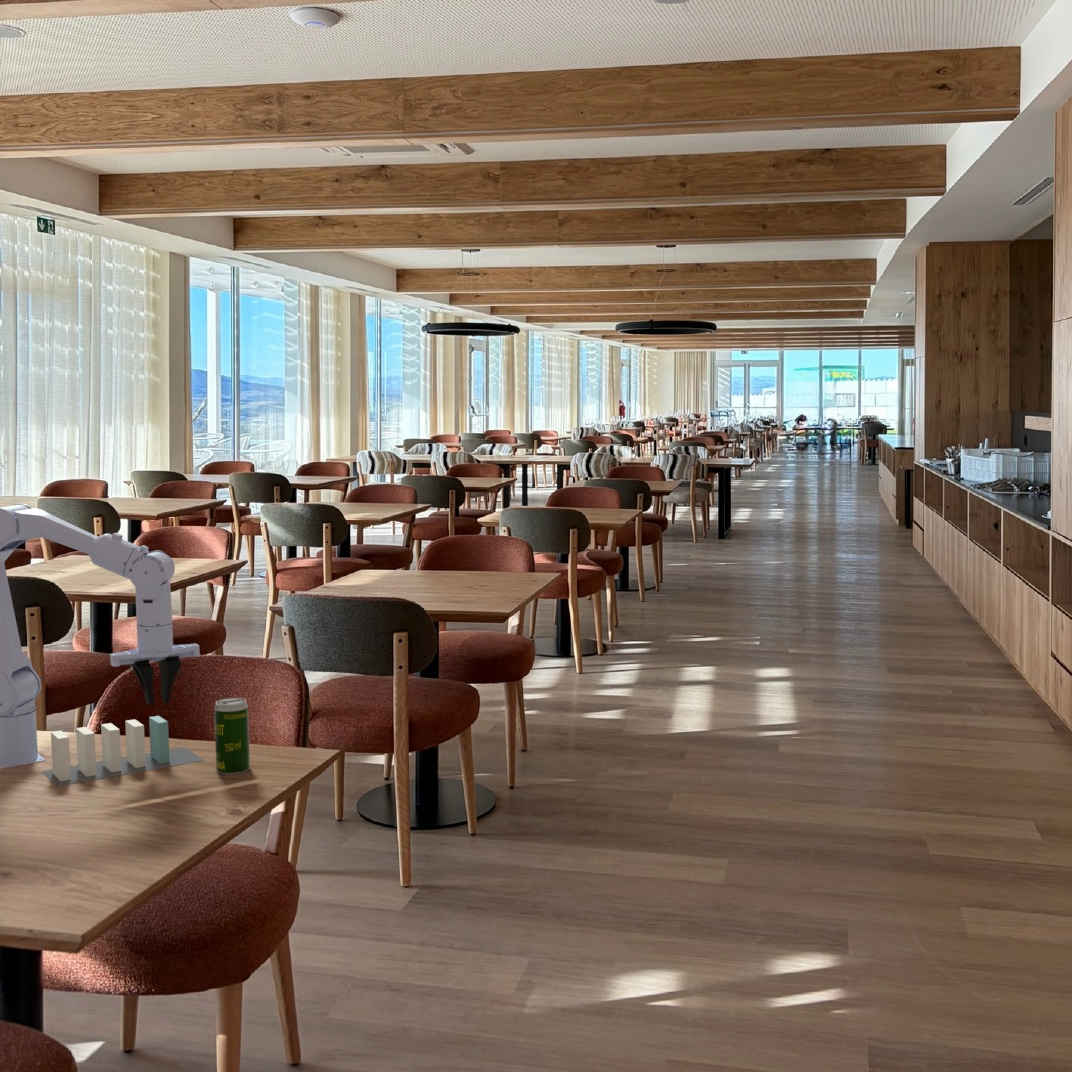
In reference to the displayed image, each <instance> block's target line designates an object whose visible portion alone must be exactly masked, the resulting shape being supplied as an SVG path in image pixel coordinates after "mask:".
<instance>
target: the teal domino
mask: <svg viewBox="0 0 1072 1072" xmlns="http://www.w3.org/2000/svg"><path fill="white" fill-rule="evenodd" d="M148 718H149V719H148V724H149V746H150V753H151V757H152V758H153V759H154V760H156V761H157V762H158V763H160V764H162V763H167V762H170V760H169V750H170V739H169V738H170V737H169V736H170V735H169V721H168V720H166V719H164V718H163V717H161V716H160V715H155V716H149V717H148Z"/></svg>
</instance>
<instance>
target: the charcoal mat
mask: <svg viewBox="0 0 1072 1072" xmlns="http://www.w3.org/2000/svg"><path fill="white" fill-rule="evenodd" d="M169 760H170V762H167V763H162V764H160V763H158V762H157V761H156V760H154V759H153V758H152V757H151V752H148V753H146V752H145V764H146V766H144V767H139V768H135V767H134V766H133V765H131V764H130V763H129V762H128V761H127V756H124V757H121V771H116V772H110V771H109V770H108V769H107V768H106V767H105V766H103V760H99V761H96V775H93V776H88V777H86V776H85V775H84V774H83V773H82V772H81V771H79V770H78V764H76V765H73V766H71V765H70V770H71V780H65V781H60V780H59V779H58V778H57V777H56V776H55V775H54V774H53V768H51V769H47V770H42V771H41V773H42V774H43V776H45V777H46V778H47V779H48V780H49V781H50V782H51V783H52V784H53V786H55V787H57V788H58V787H63V786H69V785H75V784H81V783H87V782H91V781H92V782H93V781H97V780H104V779H108V778H109V779H110V778H114V777H119V776H125V775H131V774H137V773H142V772H147V771H154V770H159V769H165V768H170V767H176V766H181V765H186V764H193V763H197V762H203V761H205V759H203V758H202V757H200V756H199V755H198V754H196V753H194V752H192V751H191V750H190V749H189V748H187V747H185V746H183V747H177V748H172V749H170V748H169Z"/></svg>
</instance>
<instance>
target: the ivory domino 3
mask: <svg viewBox="0 0 1072 1072" xmlns="http://www.w3.org/2000/svg"><path fill="white" fill-rule="evenodd" d="M100 729H101V731H100V732H101V746H102V747H101V748H102V749H101V753H102V757H101V758H102V761H103V766H105V767H106V768H107V769H108V770H109V771H110V772H116V771H121V758H122V757H121V756H122V755H121V754H122V753H121V733H120V732H121V731H120V728H118V727H117V726H116V725H114V724H113V723H112V722H109V723H101V724H100Z"/></svg>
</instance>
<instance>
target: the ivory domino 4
mask: <svg viewBox="0 0 1072 1072" xmlns="http://www.w3.org/2000/svg"><path fill="white" fill-rule="evenodd" d="M124 721H125V723H124V724H125V744H126V745H125V746H126V757H127V761H128V762H129V763H130V764H131V765H133V766H134V767H135V768H139V767H144V766H146V764H145V754H146V748H145V747H146V741H145V725H144V724H142V723H141V722H140V721H139V720H137V719H136V718H135V719H129V720H128V719H127V720H124Z"/></svg>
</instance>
